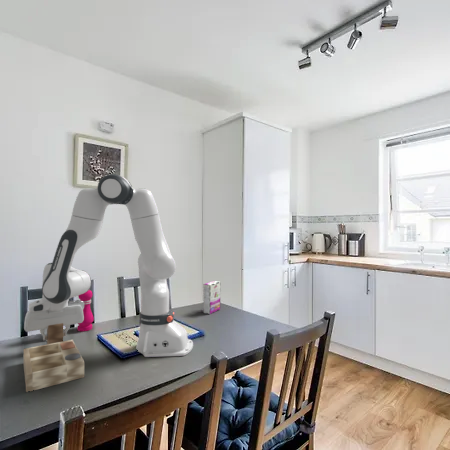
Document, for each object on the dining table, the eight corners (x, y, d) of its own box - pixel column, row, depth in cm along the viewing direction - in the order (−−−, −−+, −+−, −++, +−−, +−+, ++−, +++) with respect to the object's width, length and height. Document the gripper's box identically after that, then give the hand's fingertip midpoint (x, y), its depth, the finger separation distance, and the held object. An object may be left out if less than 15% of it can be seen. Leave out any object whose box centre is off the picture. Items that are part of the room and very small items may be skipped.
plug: (61, 344, 121) (61, 317, 121) (62, 349, 117) (63, 321, 117) (46, 347, 118) (47, 319, 118) (48, 352, 114) (48, 323, 114)
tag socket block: (72, 352, 114) (72, 338, 114) (84, 377, 96) (84, 360, 96) (23, 363, 105) (23, 348, 105) (26, 392, 87) (26, 374, 87)
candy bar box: (213, 308, 177) (213, 280, 177) (220, 309, 174) (221, 281, 174) (202, 313, 167) (203, 283, 167) (210, 314, 165) (210, 284, 165)
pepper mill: (86, 332, 135) (87, 288, 135) (72, 331, 136) (73, 287, 136) (96, 327, 142) (97, 285, 142) (83, 325, 143) (83, 284, 143)
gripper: (82, 297, 126) (82, 330, 126) (24, 304, 114) (23, 340, 114) (85, 300, 121) (85, 335, 121) (24, 308, 109) (24, 346, 109)
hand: (54, 338), depth 117 cm, fingers closed on plug, 5 cm apart
